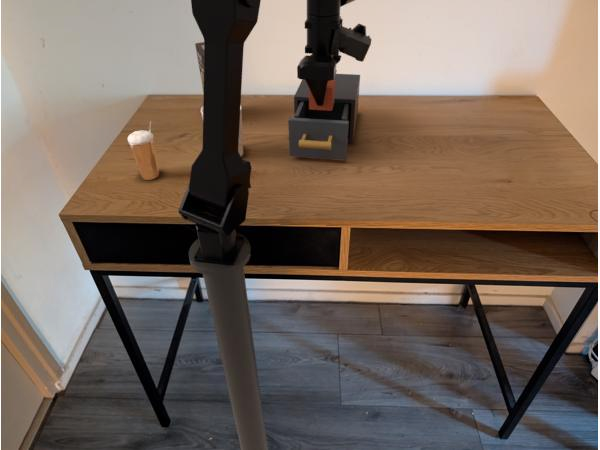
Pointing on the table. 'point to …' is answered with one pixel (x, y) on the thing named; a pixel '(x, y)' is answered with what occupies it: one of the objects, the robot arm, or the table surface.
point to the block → (327, 100)
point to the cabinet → (337, 97)
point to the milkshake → (144, 153)
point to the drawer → (319, 132)
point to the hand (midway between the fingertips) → (321, 100)
